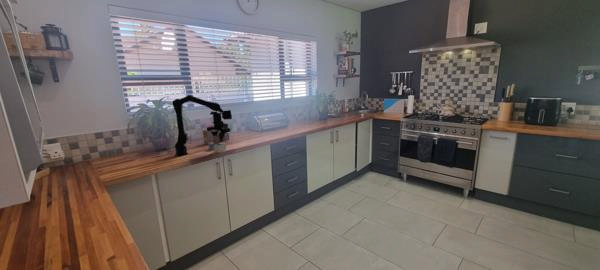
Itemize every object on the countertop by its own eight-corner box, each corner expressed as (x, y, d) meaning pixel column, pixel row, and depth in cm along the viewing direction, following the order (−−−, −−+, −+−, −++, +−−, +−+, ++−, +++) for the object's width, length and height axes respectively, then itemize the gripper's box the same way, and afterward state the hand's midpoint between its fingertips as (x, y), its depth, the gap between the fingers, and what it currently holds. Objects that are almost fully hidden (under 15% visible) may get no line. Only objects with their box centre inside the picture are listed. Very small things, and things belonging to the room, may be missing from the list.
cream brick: (219, 152, 183) (218, 145, 182) (214, 151, 185) (213, 145, 184) (226, 149, 191) (225, 143, 190) (221, 148, 192) (220, 142, 191)
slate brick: (211, 150, 189) (211, 144, 188) (208, 149, 192) (208, 143, 191) (221, 148, 195) (220, 141, 194) (218, 147, 198) (217, 141, 197)
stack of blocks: (225, 138, 226) (223, 125, 223) (229, 139, 222) (228, 125, 219) (204, 143, 209) (202, 129, 206) (208, 144, 205) (207, 130, 202)
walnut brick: (217, 143, 182) (217, 136, 181) (213, 143, 184) (212, 136, 183) (225, 141, 189) (225, 134, 188) (221, 140, 191) (220, 134, 190)
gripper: (234, 119, 185) (236, 139, 189) (216, 117, 194) (218, 137, 197) (223, 121, 176) (225, 143, 179) (205, 120, 185) (207, 140, 188)
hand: (219, 140), depth 186 cm, fingers closed on walnut brick, 5 cm apart
